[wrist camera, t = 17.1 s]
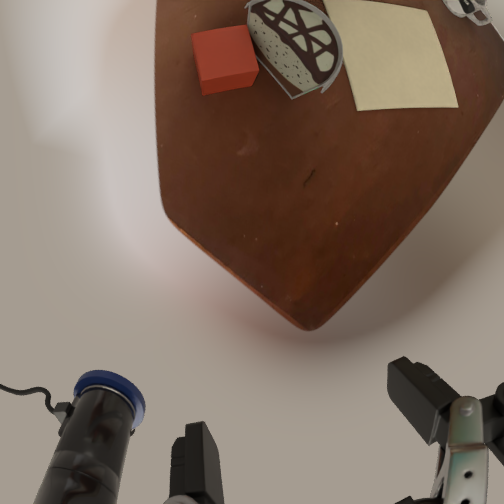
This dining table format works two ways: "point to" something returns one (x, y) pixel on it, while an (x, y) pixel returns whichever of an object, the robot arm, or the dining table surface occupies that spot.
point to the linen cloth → (391, 55)
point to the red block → (224, 59)
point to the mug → (469, 9)
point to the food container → (295, 44)
